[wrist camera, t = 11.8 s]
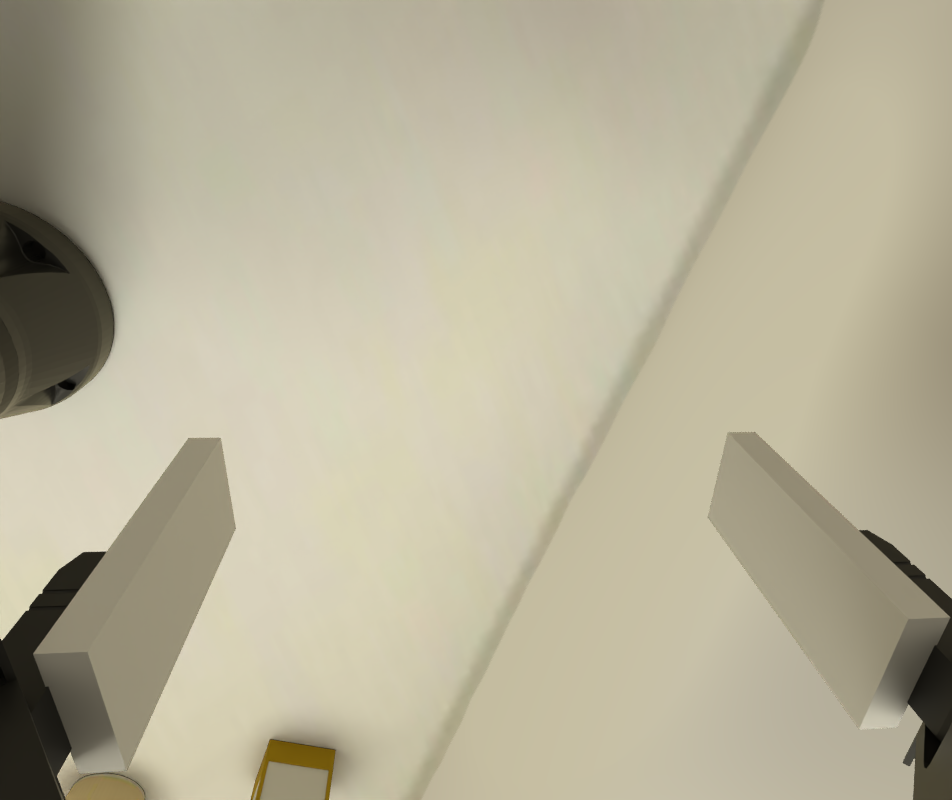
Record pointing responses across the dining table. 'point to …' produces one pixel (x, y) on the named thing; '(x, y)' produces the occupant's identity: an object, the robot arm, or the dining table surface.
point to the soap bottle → (294, 772)
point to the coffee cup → (105, 788)
